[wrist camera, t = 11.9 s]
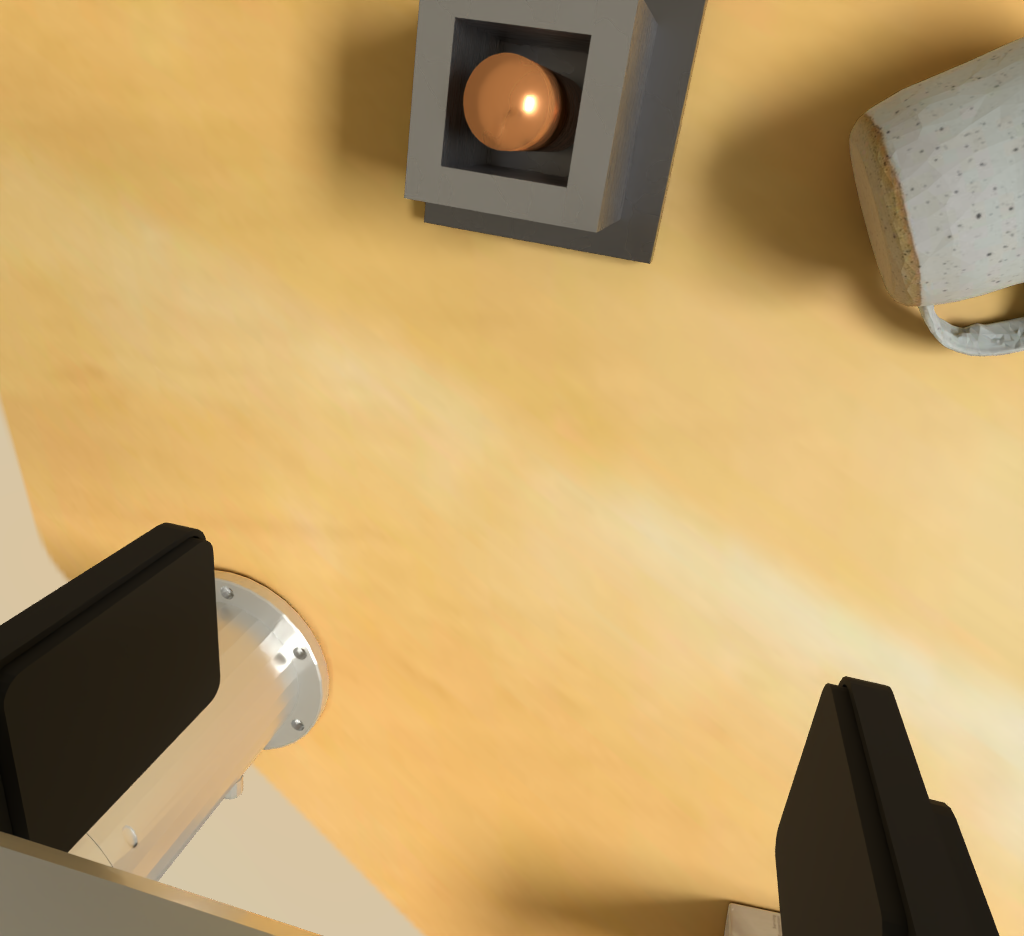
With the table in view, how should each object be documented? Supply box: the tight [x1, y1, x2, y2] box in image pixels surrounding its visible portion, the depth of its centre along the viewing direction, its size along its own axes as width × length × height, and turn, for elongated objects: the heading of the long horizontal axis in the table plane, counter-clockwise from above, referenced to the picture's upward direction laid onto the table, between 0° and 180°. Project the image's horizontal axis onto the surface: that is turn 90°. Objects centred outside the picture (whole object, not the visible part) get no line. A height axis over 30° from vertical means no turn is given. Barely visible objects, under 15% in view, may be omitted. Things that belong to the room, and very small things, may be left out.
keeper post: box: [424, 0, 708, 264], centre depth 28 cm, size 10×10×8 cm
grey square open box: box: [404, 0, 658, 233], centre depth 28 cm, size 7×7×6 cm
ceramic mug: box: [849, 37, 1024, 356], centre depth 25 cm, size 11×8×8 cm
